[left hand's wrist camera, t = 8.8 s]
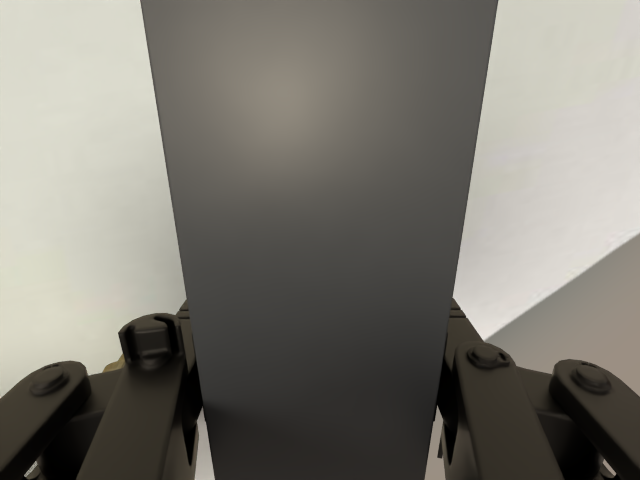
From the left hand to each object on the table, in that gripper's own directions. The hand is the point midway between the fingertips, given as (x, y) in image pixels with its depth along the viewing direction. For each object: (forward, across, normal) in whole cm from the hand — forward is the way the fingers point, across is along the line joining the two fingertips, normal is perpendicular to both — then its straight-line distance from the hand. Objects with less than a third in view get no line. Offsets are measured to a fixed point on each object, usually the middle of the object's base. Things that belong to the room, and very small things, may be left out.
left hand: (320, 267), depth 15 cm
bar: (+1, 0, -11) cm, 11 cm away
